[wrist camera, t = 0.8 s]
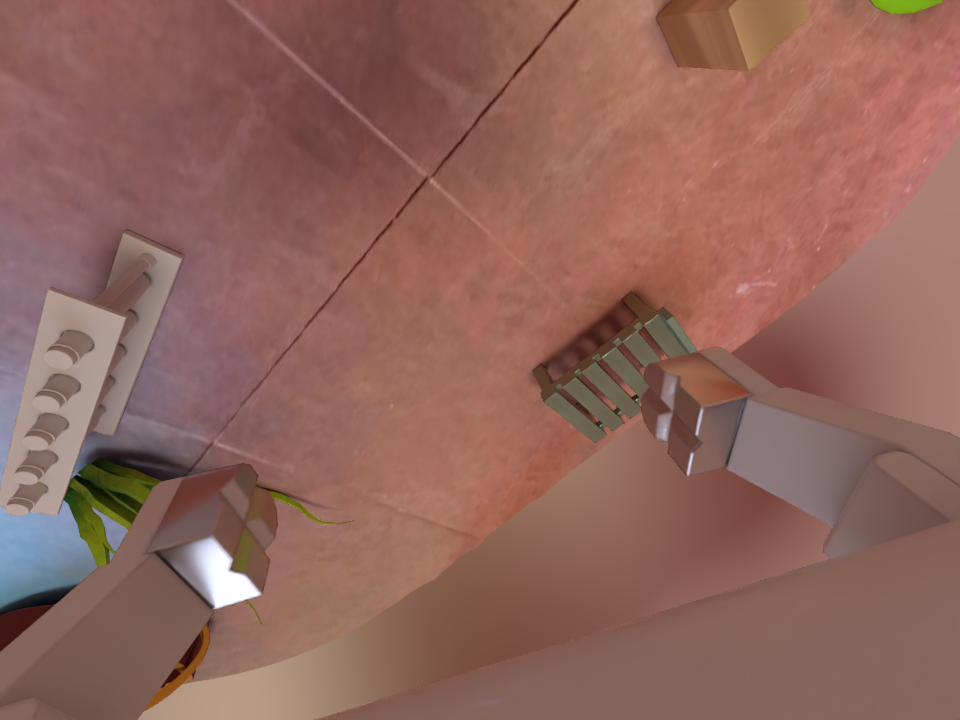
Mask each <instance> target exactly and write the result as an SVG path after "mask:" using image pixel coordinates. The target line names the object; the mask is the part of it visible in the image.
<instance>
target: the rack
mask: <svg viewBox="0 0 960 720" xmlns="http://www.w3.org/2000/svg"><path fill="white" fill-rule="evenodd" d="M622 300H623V301H624V302H625V304H626V305H627V306H628V307H629V308H630V309H631V310H632V311H633V312H634V314H635V315H636V316H637V317H638V318H637V319H635V320H634V321H633V322H631V323H630V324H629V325H628V326H626V327H625V328H624V329H622V330H621V331H620V332H618V333H617V334H616V335H615V336H613V337H612V338H611V339H609V340H608V341H607V342H606V343H604V344H603V345H602V346H600V347H599V348H598V349H597V350H595V351H594V352H593V353H591V354H590V355H589V356H587V357H586V358H585V359H584V360H582V361H581V362H580V363H578V364H577V365H576V366H575V367H573V368H572V369H571V370H569V371H568V372H567V373H566V374H564V375H563V376H562V377H560V378H559V379H558V380H556V381H555V382H553V380H552V378H551V376H550V375H549V373H548V371H547V369H546V368H545V367H543V366H542V365H539V366H538V367H537V368H536V369H534V370H533V372H534V375H535V377H536V379H537V381H538V383H539V385H540V387H541V389H542V392H541V396H542V399H543V401H544V402H545V403H546V404H547V405H548V406H550V407H551V408H552V409H553V410H555V411H556V412H557V413H558V414H560V415H561V416H562V417H563V418H564V419H566V420H567V421H568V422H569V423H571V424H572V425H573V426H574V427H576V428H577V429H578V430H579V431H581V432H582V433H583V434H584V435H586V436H587V437H588V438H589V439H591V440H592V441H593V442H594V443H596V442H598V441H599V440H601V439H602V438H603V437H605V436H606V435H607V434H606V432H605V430H604V428H605V427H608V428H609V429H610V430H611V431H614V430H615V429H616V428H618V427H619V426H621V425H622V424H624V423H625V422H624V421H623V419H622V418H621V416H622V415H624V414H625V415H626V416H627V417H628V418H629V419H631V418H632V417H634V416H635V415H637V414H638V413H639V412H641V407H640V405H639V403H641V399H642V395H643V394H644V393H645V391H646V390H647V389H648V388H649V386H648V385H647V383H646V382H645V381H644V377H643V375H642V374H641V373H640V372H639V371H638V370H637V369H636V368H635V367H634V365H633V364H632V363H631V362H630V361H629V360H628V359H627V358H626V357H625V355H624V354H623V353H622V352H621V351H620V350H619V349H618V348H617V347H618V346H619V345H621V344H622V343H623V344H624V345H625V346H626V347H627V348H628V349H629V351H630V352H631V353H632V354H633V355H634V356H635V357H636V359H637V360H638V361H639V362H640V363H641V364H642V365H643V367H644V368H645V369H646V367H647V365H648V364H650V363H654V362H658V361H662V360H661V359H660V358H659V357H658V355H657V354H656V353H655V352H654V350H653V349H652V348H651V347H650V346H649V344H648V343H647V342H646V341H645V339H644V338H643V337H642V336H641V334H640V333H639V332H638V331H639V330H640V329H642V328H643V327H644V328H645V329H646V330H647V332H648V333H649V334H650V335H651V337H652V338H653V339H654V340H655V342H656V343H657V344H658V346H659V347H660V348H661V349H662V351H663V352H664V353H665V354H666V356H667V357H668V358H669V359H670V358H674V357H678V356H682V355H686V354H691V353H693V352H696V351H698V350H697V349H696V347H695V346H694V345H693V343H692V342H691V340H690V339H689V337H688V336H687V335H686V333H685V332H684V330H683V329H682V328H681V326H680V325H679V323H678V322H677V320H676V319H675V318H674V316H673V315H672V314H671V313H670V312H668V311H667V310H666V309H665V308H664V307H662V308H661V309H660V310H658V311H656V310H654V309H653V308H652V307H651V308H650V309H649V308H648V307H647V306H646V305H645V304H644V303H643V302H642V301H641V300H640V299H639V298H638V297H637V296H636V295H635V294H634V293H633V292H631V293H630V294H628V295H627V296H626V297H625V298H623V299H622ZM601 359H603V360H604V361H605V362H606V363H607V364H608V365H609V366H610V367H611V368H612V369H613V370H614V371H615V372H616V373H617V374H618V376H619V377H620V378H621V379H622V380H623V381H624V382H625V383H626V384H627V385H628V386H629V387H630V388H631V389H632V390H633V391H634V392H635V393H636V395H634V396H633V397H631V396H630V395H629V394H628V393H627V392H626V391H625V390H624V389H623V388H622V387H621V386H620V385H619V384H618V383H617V382H616V381H615V380H614V379H613V378H612V377H611V376H610V375H609V374H608V373H607V372H606V371H605V370H604V369H603V368H602V367H601V366H600V365H599V364H598V363H597V362H598V361H600V360H601ZM581 374H583V375H584V376H585V377H586V378H587V379H588V380H589V381H591V382H592V383H593V384H594V385H595V386H596V387H597V388H598V389H599V390H600V391H601V392H602V393H603V394H604V395H605V396H606V397H607V398H608V399H609V400H611V401H612V402H613V403H614V404H615V405H616V406H617V408H616V409H615V410H613V409H612V408H611V407H610V406H609V405H607V404H606V403H605V402H604V401H603V400H602V399H601V398H600V397H599V396H598V395H597V394H596V393H595V392H594V391H592V390H591V389H590V388H589V387H588V386H587V385H586V384H585V383H584V382H583V381H582V380H581V379H580V378H579V376H580V375H581ZM561 389H564V390H566V391H567V392H568V393H569V394H570V395H571V396H572V397H574V398H575V399H576V400H577V401H578V402H579V403H578V404H576V405H575V404H574V403H573V402H571V401H570V400H569V399H568V398H567V397H566V396H564V395H563V394H562V393H561V392H560V390H561ZM592 414H593V415H594V416H595V417H596V418H598V419H599V421H598V422H596V420H595V418H594V416H593V415H592Z"/></svg>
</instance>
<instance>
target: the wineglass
mask: <svg viewBox="0 0 960 720" xmlns="http://www.w3.org/2000/svg"><path fill="white" fill-rule="evenodd" d="M871 1H872V3H873V4H874V5H875V7H877V8H879V9H882V10H884V11H886V12H888V13H890V14H912V13H915V12H918V11H920V10H923V9H926V8H929V7H931V6H934V5H937V4H939V3H940V2H942V1H944V0H871Z"/></svg>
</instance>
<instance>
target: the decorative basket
mask: <svg viewBox="0 0 960 720" xmlns="http://www.w3.org/2000/svg"><path fill="white" fill-rule="evenodd" d="M53 606H54V605H44V606H36V607H29V608H24V609H19V610H15V611H11V612H8V613H5V614H2V615H0V652H1V651H2V650H3V649H4V648H5V647H7V646H8V645H9V644H10V643H11V642H12V641H14V640H15V639H16V638H17V637H18V636H19V635H21V634H22V633H23V632H24V631H25V630H26V629H27V628H29V627H30V626H31V625H32V624H33V623H34V622H36V621H37V620H38V619H39V618H40V617H41V616H43V615H44V614H45V613H46V612H47V611H48V610H50V609H51V608H52V607H53ZM209 642H210V631H209V628H208V626H207V625H206V624H205V626H204V627H203V629H202V630H201V631H200V633H199V634H198V636H197V637H196V638H195V640H194V641H193V643H192V644H191V645H190V647H189V648H188V650H187V651H186V652H185V654H184V655H183V657H182V658H181V659H180V661H179V662H178V664H177V665H176V666H175V668H174V669H173V671H172V672H171V673H170V675H169V676H168V678H167V679H166V681H165V682H164V683H163V685H162V686H161V688H160V689H159V690H158V692H157V693H156V695H155V696H154V697H153V699H152V700H151V702H150V703H149V704H148V706H147V707H146V709H145V710H148V709H149V708H151V707H153V706H154V705H156V704H158V703H159V702H161V701H162V700H163V699H165V698H166V697H168V696H169V695H170V694H171V693H173V692H174V691H175V690H176V689H177V688H178V687H179V686H181V685H182V684H183V683H184V682H186V681H190V680H193V678H194V675H195V671H196V668H197V667H198V666H199V664H200V663H201V661H202V660H203V658H204V656H205V654H206V652H207V649H208V646H209ZM145 710H144V711H145ZM144 711H143V712H144Z"/></svg>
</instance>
